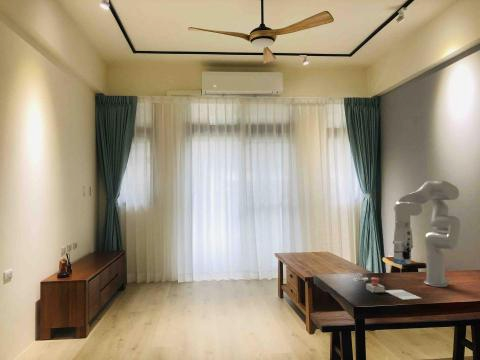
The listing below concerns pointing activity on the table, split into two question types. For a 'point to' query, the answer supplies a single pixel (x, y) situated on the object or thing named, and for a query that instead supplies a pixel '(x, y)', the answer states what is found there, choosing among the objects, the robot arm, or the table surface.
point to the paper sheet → (402, 294)
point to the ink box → (400, 254)
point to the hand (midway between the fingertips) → (402, 257)
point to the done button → (374, 281)
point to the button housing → (375, 288)
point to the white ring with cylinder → (360, 278)
